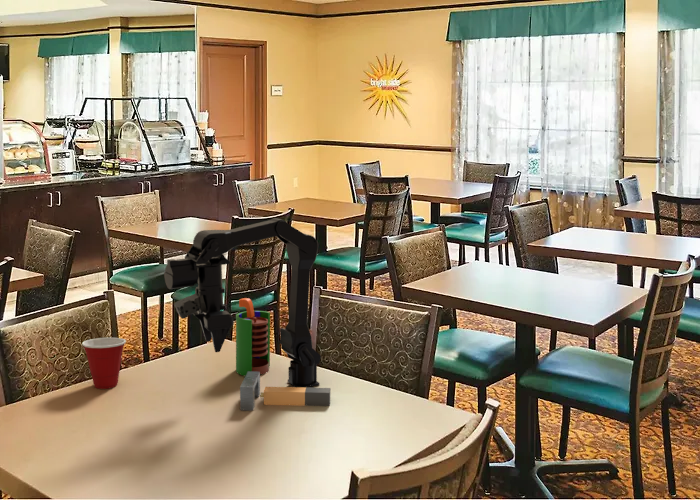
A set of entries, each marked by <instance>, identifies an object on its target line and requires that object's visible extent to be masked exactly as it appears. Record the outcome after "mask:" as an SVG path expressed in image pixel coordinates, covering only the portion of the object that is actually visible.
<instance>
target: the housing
mask: <svg viewBox="0 0 700 500" xmlns="http://www.w3.org/2000/svg"><path fill="white" fill-rule="evenodd" d="M260 395H261V375H260V372H254V371H248V372H247V374H246V376H244V378H243V380H242V382H241V384H240V386H239V396H240V397H239V400H240V401H239V402H240V404H239V405H240V408H239V409H240V411H254V409H255V405H256V403H255V402H256V401H255V399H256V398H260Z"/></svg>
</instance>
